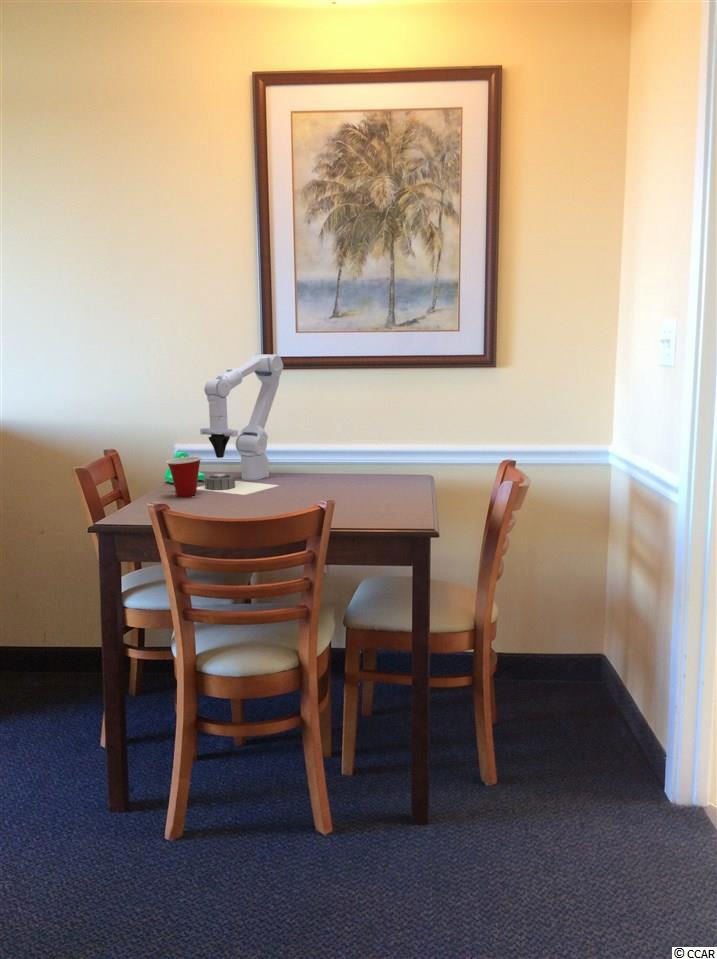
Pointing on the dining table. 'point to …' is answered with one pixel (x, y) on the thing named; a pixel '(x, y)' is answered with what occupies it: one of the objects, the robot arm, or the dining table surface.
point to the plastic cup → (185, 475)
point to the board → (232, 486)
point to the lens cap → (219, 476)
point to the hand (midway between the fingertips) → (220, 457)
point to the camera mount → (168, 473)
